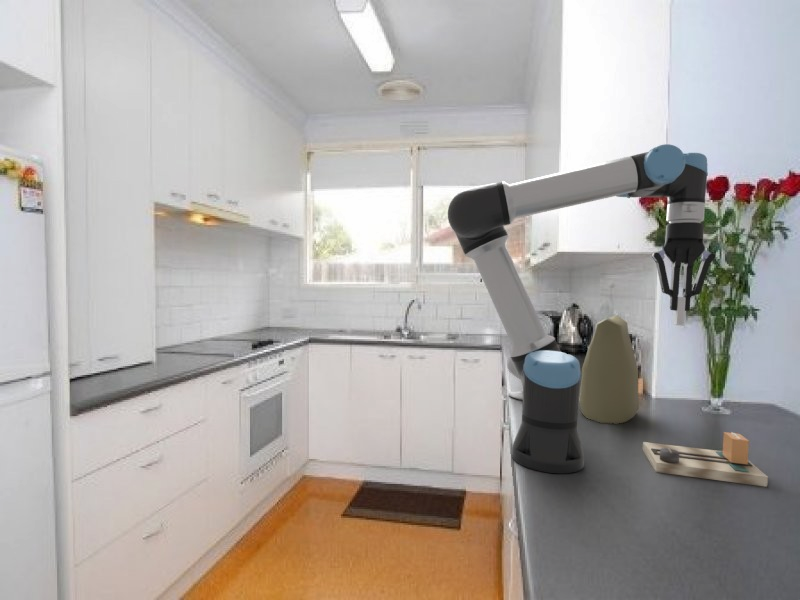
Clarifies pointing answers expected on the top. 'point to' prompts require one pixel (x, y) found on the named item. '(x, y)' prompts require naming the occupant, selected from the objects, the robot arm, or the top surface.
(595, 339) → the container
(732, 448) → the fader knob
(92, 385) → the top surface
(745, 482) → the console
